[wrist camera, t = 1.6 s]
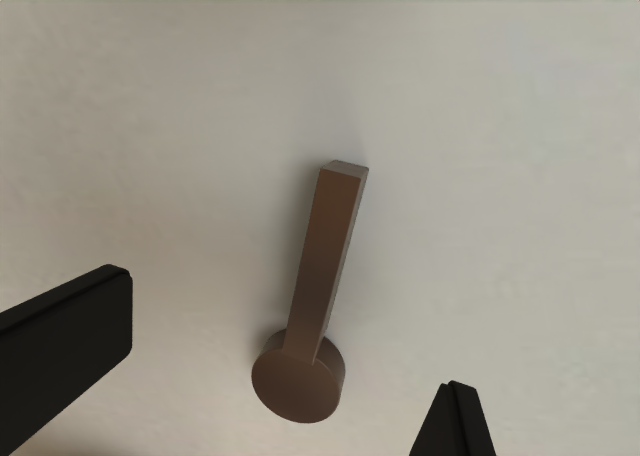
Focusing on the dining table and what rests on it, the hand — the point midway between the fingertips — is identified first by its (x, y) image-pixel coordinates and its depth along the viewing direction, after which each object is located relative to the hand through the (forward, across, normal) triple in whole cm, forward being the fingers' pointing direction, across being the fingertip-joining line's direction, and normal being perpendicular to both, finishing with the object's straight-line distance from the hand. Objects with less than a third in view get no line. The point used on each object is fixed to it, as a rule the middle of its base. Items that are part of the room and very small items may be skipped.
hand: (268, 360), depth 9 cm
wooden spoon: (+8, 0, +2) cm, 8 cm away
